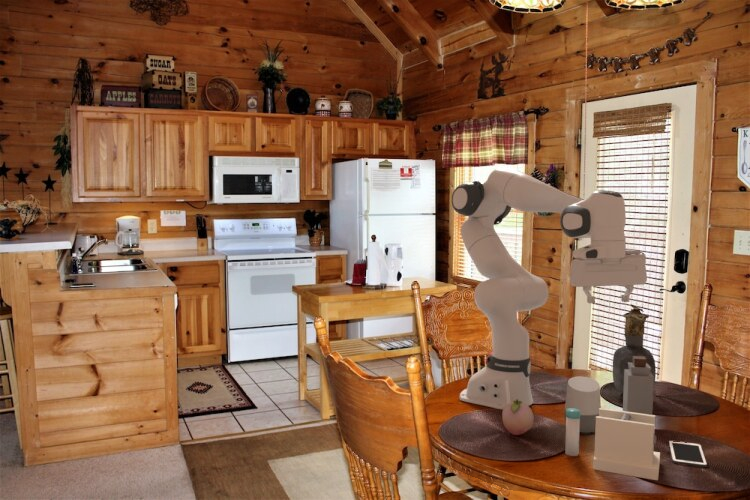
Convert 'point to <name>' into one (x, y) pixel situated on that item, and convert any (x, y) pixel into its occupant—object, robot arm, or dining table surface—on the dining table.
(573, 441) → the marker
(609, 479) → the dining table surface
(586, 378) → the smart speaker
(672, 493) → the dining table surface
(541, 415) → the dining table surface
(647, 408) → the perfume bottle
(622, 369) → the dark decorative bottle
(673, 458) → the cell phone
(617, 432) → the tilted socket
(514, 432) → the decorative fruit
